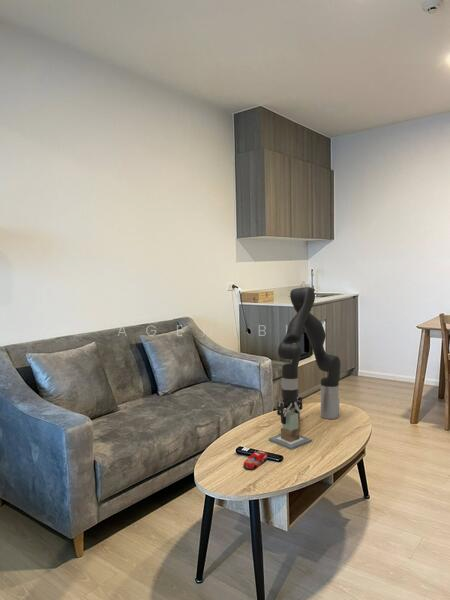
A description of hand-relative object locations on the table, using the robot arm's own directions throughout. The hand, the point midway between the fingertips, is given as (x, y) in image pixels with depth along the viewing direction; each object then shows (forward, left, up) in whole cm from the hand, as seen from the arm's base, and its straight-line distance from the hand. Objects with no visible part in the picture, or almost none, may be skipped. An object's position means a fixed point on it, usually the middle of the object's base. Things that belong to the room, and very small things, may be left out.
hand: (290, 421), depth 200 cm
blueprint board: (0, 0, -9) cm, 9 cm away
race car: (+28, +7, -10) cm, 30 cm away
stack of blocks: (-16, -13, -10) cm, 23 cm away
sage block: (0, 0, -3) cm, 3 cm away
